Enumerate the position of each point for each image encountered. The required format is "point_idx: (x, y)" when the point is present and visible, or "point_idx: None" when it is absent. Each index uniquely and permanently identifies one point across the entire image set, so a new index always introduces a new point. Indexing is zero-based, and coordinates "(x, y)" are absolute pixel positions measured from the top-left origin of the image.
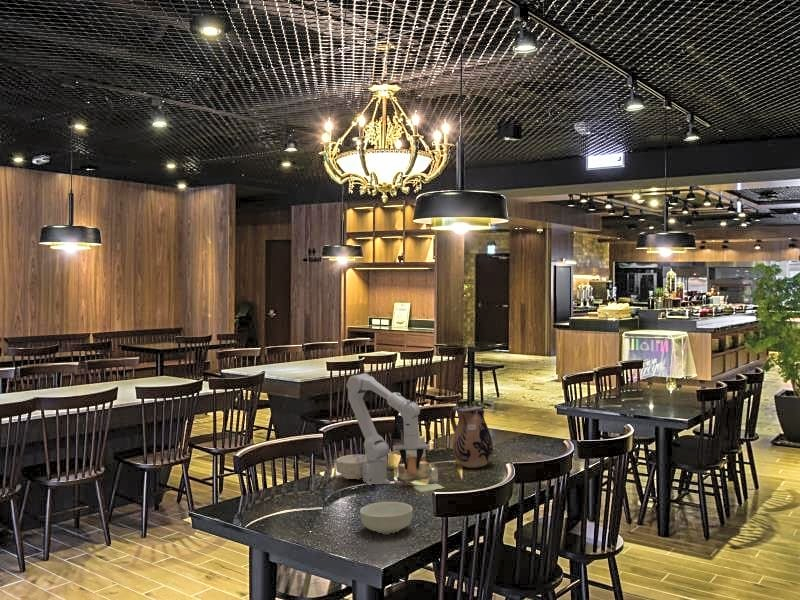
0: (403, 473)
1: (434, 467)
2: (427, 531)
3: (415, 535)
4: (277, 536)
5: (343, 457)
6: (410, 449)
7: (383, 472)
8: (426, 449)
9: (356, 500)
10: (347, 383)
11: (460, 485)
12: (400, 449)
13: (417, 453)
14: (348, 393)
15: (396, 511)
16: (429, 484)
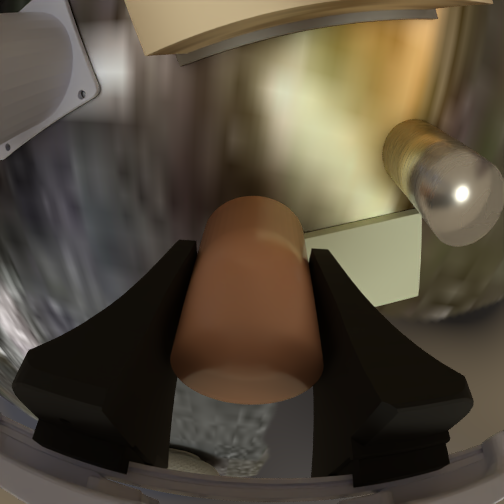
0: (185, 49)
1: (486, 197)
2: (247, 465)
3: (226, 467)
4: (31, 415)
5: None
6: (222, 493)
7: (15, 127)
8: (460, 459)
9: (42, 333)
10: None
11: (501, 244)
12: (64, 463)
13: (312, 473)
14: None
15: (189, 467)
16: (371, 225)
